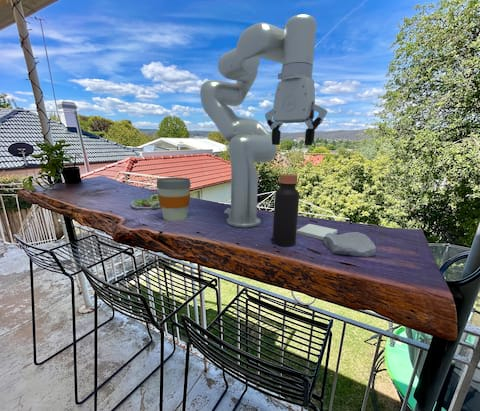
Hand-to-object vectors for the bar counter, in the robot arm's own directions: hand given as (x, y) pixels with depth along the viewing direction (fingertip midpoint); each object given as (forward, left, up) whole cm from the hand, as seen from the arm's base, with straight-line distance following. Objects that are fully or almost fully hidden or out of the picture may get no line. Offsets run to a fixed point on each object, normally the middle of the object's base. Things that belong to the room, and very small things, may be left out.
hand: (291, 145), depth 65 cm
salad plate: (-71, -1, -29) cm, 77 cm away
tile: (+4, +15, -28) cm, 32 cm away
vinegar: (0, 0, -28) cm, 28 cm away
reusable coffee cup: (-45, -6, -28) cm, 54 cm away
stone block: (+16, +7, -29) cm, 34 cm away
